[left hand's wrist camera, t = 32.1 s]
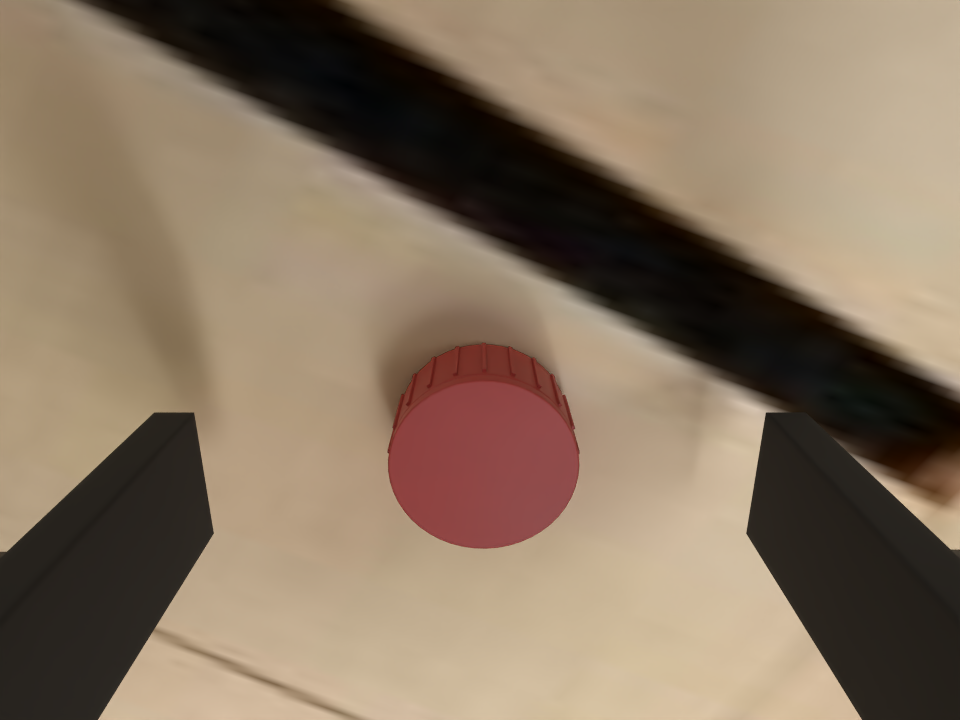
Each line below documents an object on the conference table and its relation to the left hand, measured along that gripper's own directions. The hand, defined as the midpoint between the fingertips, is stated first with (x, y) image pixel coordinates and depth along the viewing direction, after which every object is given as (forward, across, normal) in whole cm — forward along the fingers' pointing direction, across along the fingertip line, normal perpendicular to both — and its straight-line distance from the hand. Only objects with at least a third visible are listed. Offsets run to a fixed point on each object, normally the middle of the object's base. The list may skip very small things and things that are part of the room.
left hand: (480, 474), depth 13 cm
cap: (+1, 0, 0) cm, 1 cm away
